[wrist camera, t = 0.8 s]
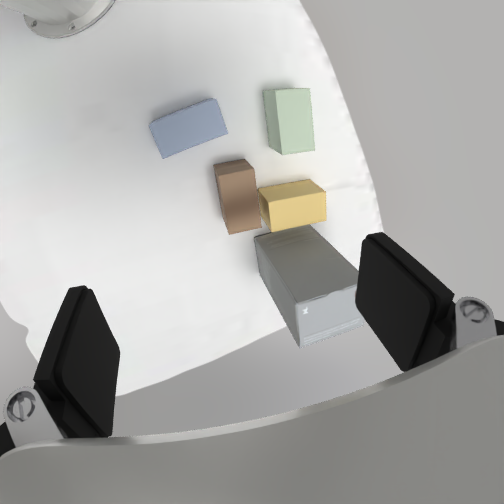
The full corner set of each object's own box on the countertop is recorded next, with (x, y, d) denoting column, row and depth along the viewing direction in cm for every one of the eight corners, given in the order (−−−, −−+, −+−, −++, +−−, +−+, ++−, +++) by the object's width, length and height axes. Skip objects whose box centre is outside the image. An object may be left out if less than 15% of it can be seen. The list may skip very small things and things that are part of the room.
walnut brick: (213, 164, 35) (218, 175, 31) (244, 158, 36) (254, 168, 31) (222, 217, 39) (229, 234, 35) (251, 211, 39) (261, 227, 35)
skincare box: (259, 273, 44) (294, 355, 31) (252, 230, 40) (291, 306, 27) (313, 260, 45) (365, 332, 32) (311, 217, 42) (372, 282, 28)
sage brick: (262, 90, 32) (275, 90, 28) (293, 87, 32) (309, 88, 28) (269, 146, 35) (282, 155, 31) (298, 142, 36) (314, 150, 32)
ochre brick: (260, 215, 40) (271, 232, 36) (257, 188, 38) (268, 202, 34) (310, 205, 41) (326, 220, 36) (309, 179, 39) (325, 191, 35)
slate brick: (165, 150, 33) (162, 159, 29) (153, 121, 31) (148, 125, 27) (221, 127, 33) (228, 133, 29) (211, 98, 31) (216, 98, 27)
